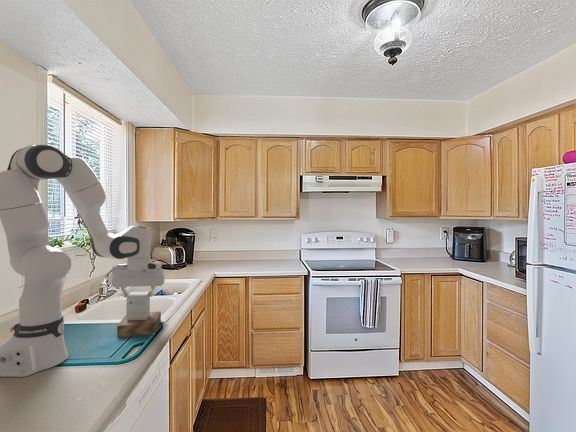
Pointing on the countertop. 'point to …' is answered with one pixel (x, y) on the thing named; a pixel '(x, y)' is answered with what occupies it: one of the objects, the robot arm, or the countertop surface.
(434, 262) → the countertop surface
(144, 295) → the small box
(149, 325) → the walnut block
